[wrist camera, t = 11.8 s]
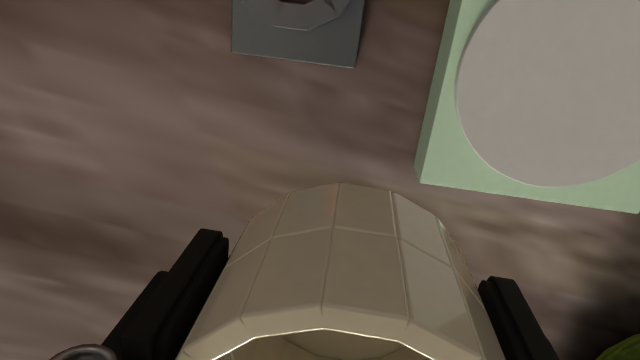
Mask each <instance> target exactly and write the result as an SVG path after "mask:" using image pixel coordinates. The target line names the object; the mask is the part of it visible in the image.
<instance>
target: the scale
mask: <svg viewBox="0 0 640 360" xmlns="http://www.w3.org/2000/svg"><path fill="white" fill-rule="evenodd" d="M414 166H415V169H416V173H417V176H418V179H419V182H420V183H425V184H432V185H439V186H446V187H453V188H460V189H467V190H474V191H481V192H488V193H495V194H502V195H509V196H515V197H522V198H529V199H536V200H543V201H550V202H557V203H564V204H571V205H578V206H585V207H592V208H599V209H606V210H613V211H620V212H627V213H634V214H638V213H639V211H640V0H450V3H449V7H448V12H447V16H446V21H445V25H444V30H443V34H442V39H441V43H440V48H439V52H438V57H437V61H436V66H435V70H434V75H433V79H432V84H431V88H430V93H429V97H428V102H427V106H426V111H425V115H424V120H423V124H422V129H421V133H420V138H419V142H418V147H417V151H416V156H415V160H414Z"/></svg>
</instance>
